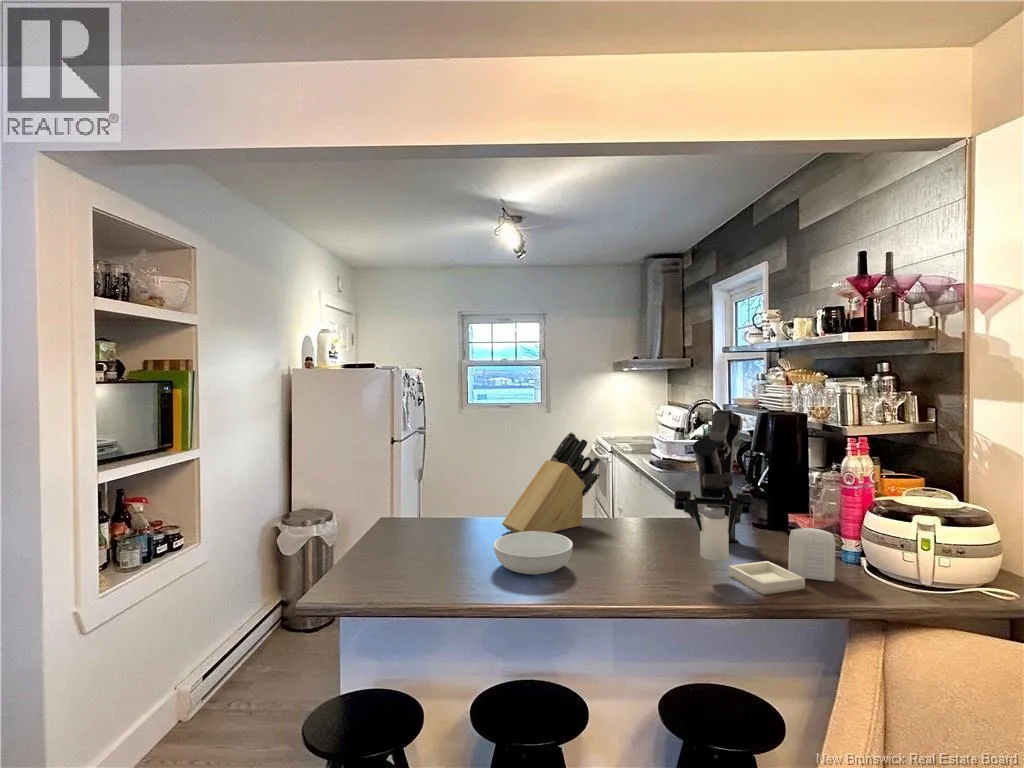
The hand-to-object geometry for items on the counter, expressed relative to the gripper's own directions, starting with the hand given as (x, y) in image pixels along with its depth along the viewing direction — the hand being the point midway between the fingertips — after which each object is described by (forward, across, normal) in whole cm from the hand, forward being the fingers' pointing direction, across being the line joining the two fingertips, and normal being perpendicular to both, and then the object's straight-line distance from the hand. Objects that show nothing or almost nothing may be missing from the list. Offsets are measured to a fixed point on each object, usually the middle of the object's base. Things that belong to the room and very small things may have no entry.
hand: (715, 531), depth 129 cm
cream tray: (+7, +12, +11) cm, 17 cm away
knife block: (-16, -47, +34) cm, 60 cm away
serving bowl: (+11, -46, +7) cm, 47 cm away
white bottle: (+4, 0, +6) cm, 7 cm away
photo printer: (+3, +24, +15) cm, 28 cm away
